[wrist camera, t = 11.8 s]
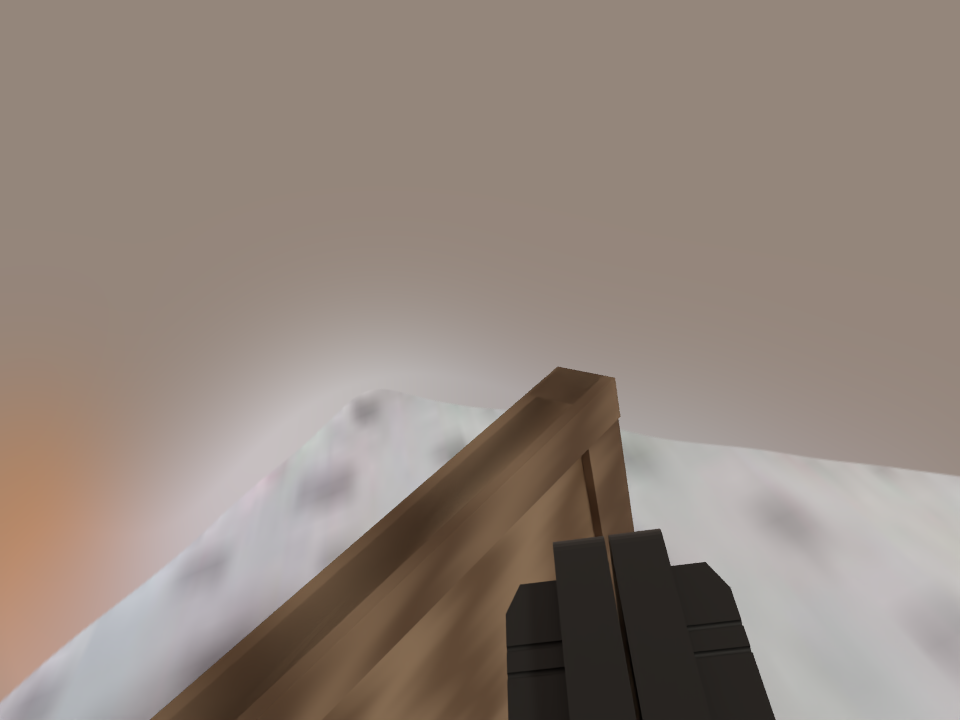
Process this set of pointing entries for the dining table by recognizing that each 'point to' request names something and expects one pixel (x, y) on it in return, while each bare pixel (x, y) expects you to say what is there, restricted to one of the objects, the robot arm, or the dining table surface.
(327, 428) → the dining table surface
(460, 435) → the dining table surface
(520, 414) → the gate
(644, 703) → the robot arm
